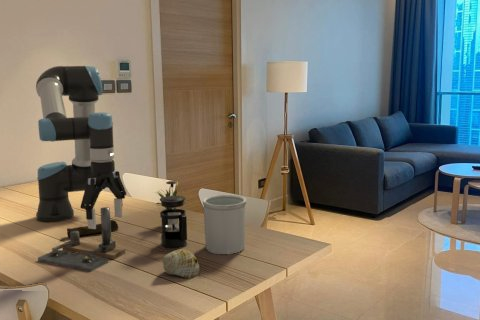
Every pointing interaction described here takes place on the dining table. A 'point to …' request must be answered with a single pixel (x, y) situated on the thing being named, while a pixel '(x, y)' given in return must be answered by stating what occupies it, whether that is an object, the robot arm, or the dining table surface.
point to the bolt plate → (73, 260)
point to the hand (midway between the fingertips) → (105, 222)
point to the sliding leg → (104, 234)
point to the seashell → (181, 264)
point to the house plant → (170, 221)
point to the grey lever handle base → (87, 247)
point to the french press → (173, 233)
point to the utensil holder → (224, 223)
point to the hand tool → (87, 230)
